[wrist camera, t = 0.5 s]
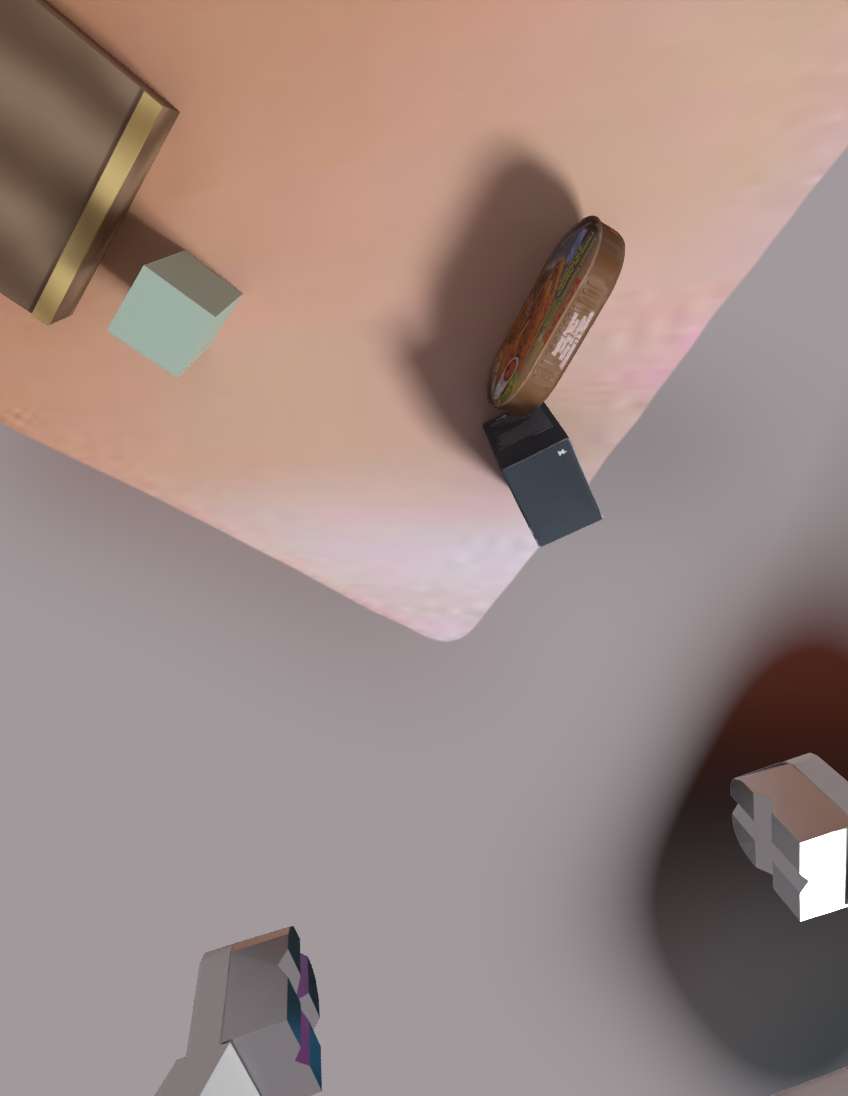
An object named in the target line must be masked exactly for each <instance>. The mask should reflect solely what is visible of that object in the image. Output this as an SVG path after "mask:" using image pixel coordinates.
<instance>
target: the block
mask: <svg viewBox="0 0 848 1096" xmlns="http://www.w3.org/2000/svg"><path fill="white" fill-rule="evenodd" d="M242 294H243V293H241V292H240V291H239V290H237V289H236V288H235V287H233V286H232V285H231V284H229V283H228V282H227V281H225V280H224V279H223V278H221V277H220V276H219V275H217V274H216V273H215V272H213V271H212V270H211V269H209V268H208V267H207V266H205V265H204V264H203V263H201V262H200V261H199V260H197V259H196V258H195V257H193V256H192V255H191V254H190V253H188V252H187V251H186V250H183V251H181V252H178V253H175V254H172V255H170V256H167V257H164V258H162V259H159V260H156V261H153V262H151V263H148V264H145V265H143V267H142V269H141V271H140V273H139V274H138V276H137V278H136V280H135V281H134V283H133V285H132V287H131V289H130V290H129V292H128V294H127V296H126V298H125V299H124V301H123V303H122V305H121V306H120V308H119V310H118V312H117V314H116V315H115V317H114V319H113V321H112V322H111V324H110V326H109V328H108V330H107V331H108V332H110V333H111V334H113V335H114V336H116V337H117V338H119V339H120V340H122V341H123V342H125V343H126V344H128V345H129V346H131V347H132V348H134V349H135V350H136V351H138V352H139V353H141V354H142V355H144V356H145V357H147V358H148V359H150V360H151V361H153V362H154V363H156V364H157V365H159V366H160V367H162V368H163V369H165V370H166V371H168V372H169V373H171V374H172V375H174V376H175V377H177V378H178V377H179V376H180V375H181V374H182V373H183V372H184V371H185V370H186V369H187V368H188V367H189V366H190V365H191V364H192V363H193V362H194V361H195V360H196V359H197V358H198V357H199V356H200V355H201V354H202V353H203V352H204V351H205V350H206V349H207V348H208V347H209V346H210V345H211V343H212V342H213V340H214V338H215V337H216V335H217V334H218V332H219V331H220V329H221V327H222V326H223V324H224V323H225V321H226V319H227V318H228V316H229V315H230V313H231V312H232V310H233V308H234V307H235V305H236V304H237V302H238V301H239V299H240V297H241V296H242Z"/></svg>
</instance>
